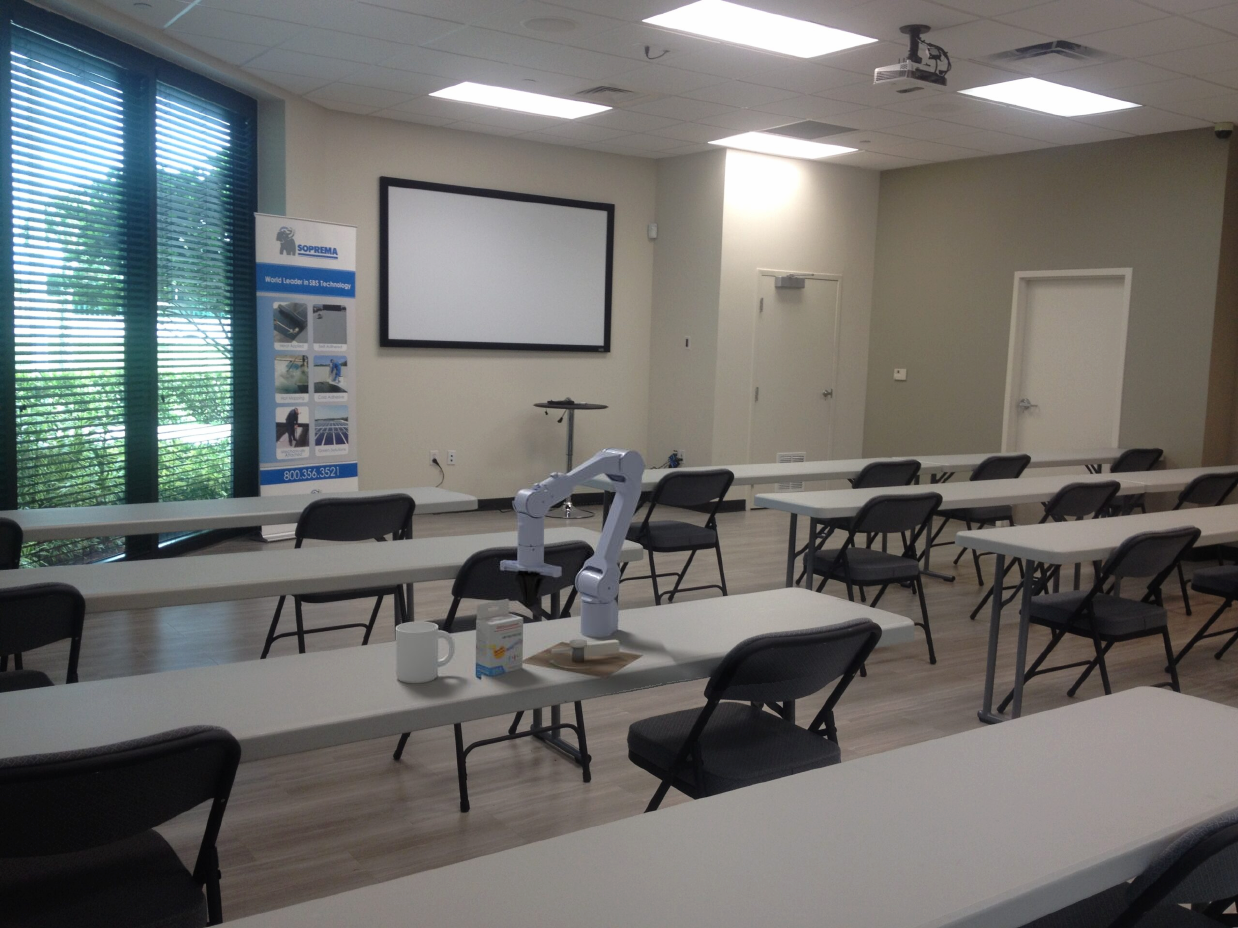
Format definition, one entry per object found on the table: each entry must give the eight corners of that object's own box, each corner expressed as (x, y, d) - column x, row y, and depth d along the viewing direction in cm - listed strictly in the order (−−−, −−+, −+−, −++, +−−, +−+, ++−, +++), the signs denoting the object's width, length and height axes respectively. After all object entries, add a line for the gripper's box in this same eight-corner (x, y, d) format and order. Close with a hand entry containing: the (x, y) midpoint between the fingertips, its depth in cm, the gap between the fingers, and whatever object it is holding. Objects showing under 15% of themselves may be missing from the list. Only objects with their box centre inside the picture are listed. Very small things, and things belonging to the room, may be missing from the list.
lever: (555, 665, 202) (555, 646, 201) (548, 660, 205) (549, 641, 204) (620, 658, 208) (621, 639, 207) (613, 653, 211) (614, 635, 211)
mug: (448, 666, 204) (448, 617, 203) (461, 678, 196) (462, 627, 195) (390, 674, 198) (390, 623, 197) (402, 686, 191) (402, 634, 190)
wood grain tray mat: (561, 647, 220) (561, 640, 219) (643, 660, 211) (643, 654, 210) (519, 667, 204) (519, 661, 204) (605, 683, 195) (605, 676, 195)
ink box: (490, 682, 194) (490, 609, 193) (474, 676, 198) (475, 604, 196) (523, 673, 200) (524, 602, 199) (508, 667, 204) (508, 597, 202)
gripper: (492, 543, 214) (491, 605, 216) (550, 550, 208) (549, 613, 209) (510, 538, 220) (509, 598, 222) (566, 545, 214) (565, 606, 215)
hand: (529, 605), depth 216 cm, fingers closed
